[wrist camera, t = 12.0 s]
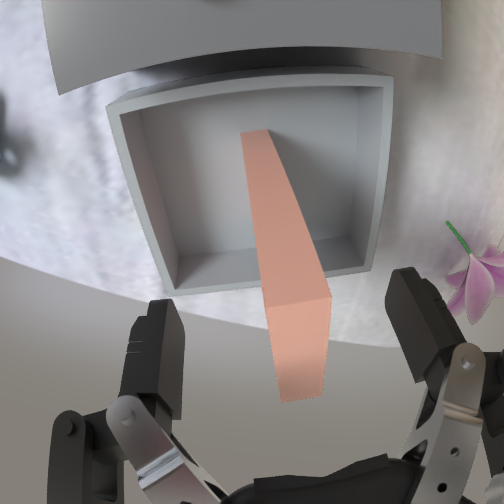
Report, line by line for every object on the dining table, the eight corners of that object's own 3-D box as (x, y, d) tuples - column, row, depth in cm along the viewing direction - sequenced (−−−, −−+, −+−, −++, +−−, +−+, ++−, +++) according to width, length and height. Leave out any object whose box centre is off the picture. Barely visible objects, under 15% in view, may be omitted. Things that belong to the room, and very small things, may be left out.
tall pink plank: (267, 128, 17) (331, 296, 7) (277, 213, 21) (321, 395, 11) (239, 132, 17) (264, 308, 7) (254, 216, 21) (281, 402, 11)
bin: (362, 66, 15) (394, 76, 12) (352, 236, 23) (370, 271, 20) (128, 91, 15) (105, 106, 12) (175, 258, 24) (168, 296, 20)
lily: (388, 284, 29) (440, 358, 25) (420, 227, 19) (500, 334, 14) (458, 227, 30) (506, 289, 25) (498, 162, 20) (564, 242, 15)
